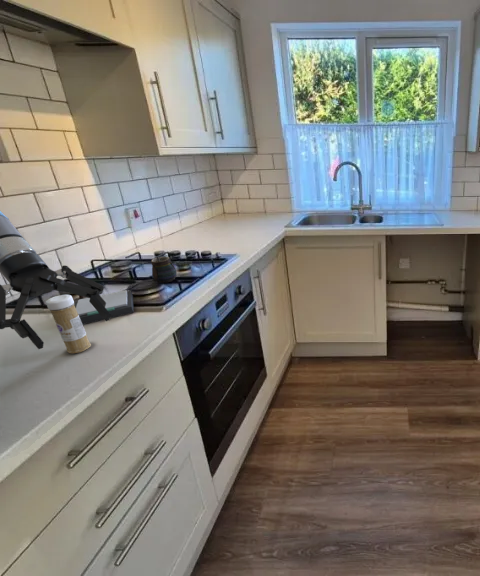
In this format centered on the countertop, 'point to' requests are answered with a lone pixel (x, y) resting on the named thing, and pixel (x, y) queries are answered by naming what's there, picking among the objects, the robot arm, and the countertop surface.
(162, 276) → the mate gourd
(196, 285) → the countertop surface
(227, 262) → the countertop surface
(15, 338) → the countertop surface
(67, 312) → the sprinkles bottle
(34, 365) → the countertop surface
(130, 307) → the scale
